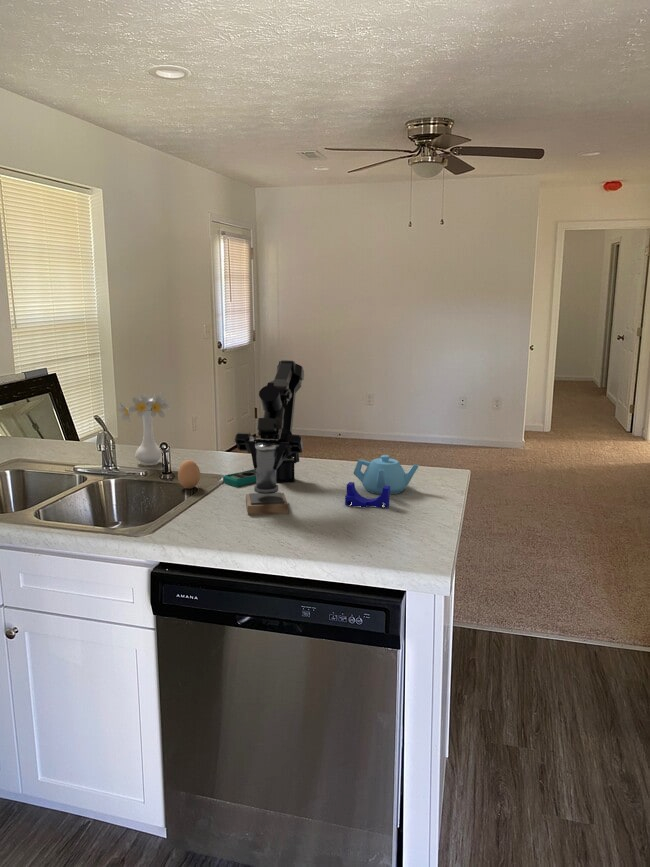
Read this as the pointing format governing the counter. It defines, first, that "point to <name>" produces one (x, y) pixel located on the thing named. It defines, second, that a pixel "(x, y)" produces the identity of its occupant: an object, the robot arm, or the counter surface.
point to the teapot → (384, 474)
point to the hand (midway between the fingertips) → (265, 468)
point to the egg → (188, 474)
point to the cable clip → (363, 502)
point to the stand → (266, 503)
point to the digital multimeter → (240, 478)
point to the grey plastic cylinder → (265, 468)
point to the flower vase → (146, 425)
